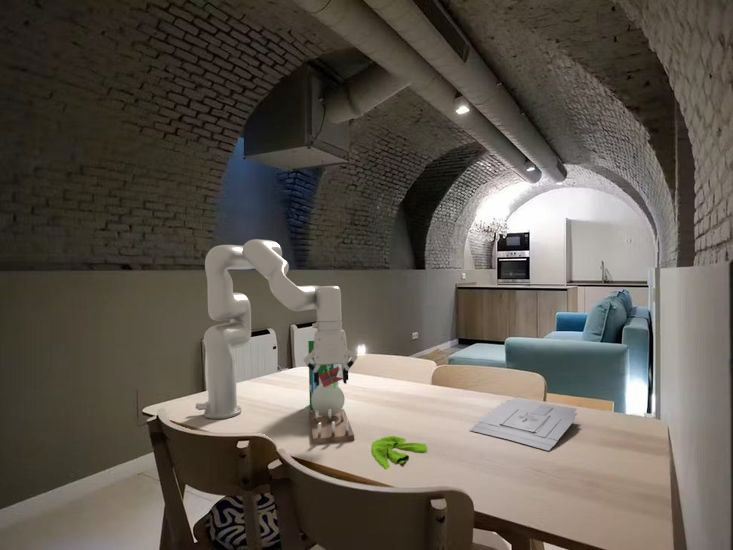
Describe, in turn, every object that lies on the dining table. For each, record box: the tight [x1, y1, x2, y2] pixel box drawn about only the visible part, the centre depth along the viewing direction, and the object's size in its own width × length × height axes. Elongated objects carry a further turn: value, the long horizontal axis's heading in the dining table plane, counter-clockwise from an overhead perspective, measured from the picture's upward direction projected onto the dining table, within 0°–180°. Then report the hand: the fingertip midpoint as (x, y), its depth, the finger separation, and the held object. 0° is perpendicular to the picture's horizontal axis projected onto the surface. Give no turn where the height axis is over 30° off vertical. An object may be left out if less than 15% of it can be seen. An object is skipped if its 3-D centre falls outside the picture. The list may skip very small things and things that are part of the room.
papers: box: [469, 397, 578, 451], centre depth 136 cm, size 24×30×4 cm
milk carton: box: [308, 340, 339, 411], centre depth 160 cm, size 9×9×25 cm
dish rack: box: [308, 410, 355, 445], centre depth 139 cm, size 12×25×2 cm, turn 10°
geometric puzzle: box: [319, 365, 344, 389], centre depth 133 cm, size 7×7×8 cm
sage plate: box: [311, 384, 345, 417], centre depth 144 cm, size 11×1×11 cm, turn 100°
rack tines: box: [313, 408, 349, 437], centre depth 139 cm, size 9×24×4 cm, turn 10°
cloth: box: [370, 435, 428, 470], centre depth 118 cm, size 20×22×2 cm
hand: (331, 383), depth 133 cm, fingers closed on geometric puzzle, 7 cm apart
